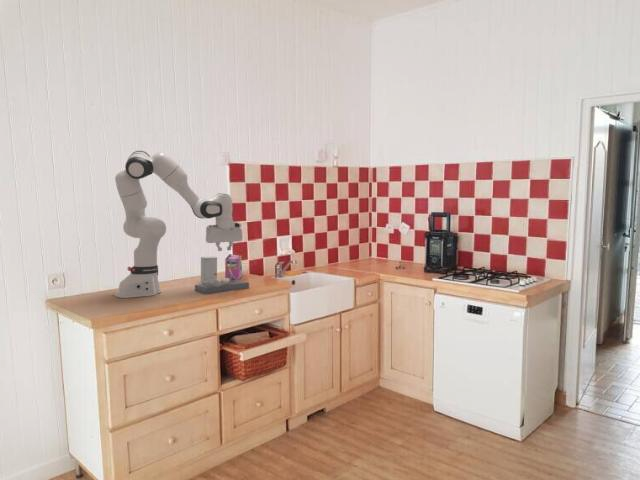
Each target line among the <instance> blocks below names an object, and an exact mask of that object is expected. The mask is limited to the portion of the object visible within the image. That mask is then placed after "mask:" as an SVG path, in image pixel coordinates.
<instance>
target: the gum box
mask: <svg viewBox="0 0 640 480" xmlns="http://www.w3.org/2000/svg"><path fill="white" fill-rule="evenodd" d="M242 263H243V261H242V254H241V253H240V254H238V255H236V254H231V253H229V254H228V255H227V257H225V259H224V267H225V268H224V269H225V271H224V272H225V274H224V275H225V277H224V278H229V281H230V280H231V274H230V272H229V269H228V268H227V265H228V264H230V265H231V268H230V269H231V272H232V275H233V277H234V278H235V280H241V278H240V277H242V276H243V268H242V267H243V266H242Z"/></svg>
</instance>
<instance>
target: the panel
mask: <svg viewBox="0 0 640 480" xmlns="http://www.w3.org/2000/svg"><path fill="white" fill-rule="evenodd" d="M249 288H250V282H249V281H244V280H241V279H239V280H230V281H229V282H228V283H221V281H217V282H216V284H212V285H210V284H207V283H201V284H200V283H199V284H194V291H196V292H198V293H200V294H201V293H202V294H204V295H208V294H215V293H222V292H223V293H224V292H229V291H236V290H243V289H244V290H245V289H249Z"/></svg>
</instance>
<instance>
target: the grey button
mask: <svg viewBox="0 0 640 480" xmlns="http://www.w3.org/2000/svg"><path fill="white" fill-rule="evenodd" d="M207 284H210V285H212V284H216V280H207Z"/></svg>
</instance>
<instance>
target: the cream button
mask: <svg viewBox="0 0 640 480" xmlns="http://www.w3.org/2000/svg"><path fill="white" fill-rule="evenodd" d="M220 282H221V283H228V282H229V278H225V277H223V278H220Z"/></svg>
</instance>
